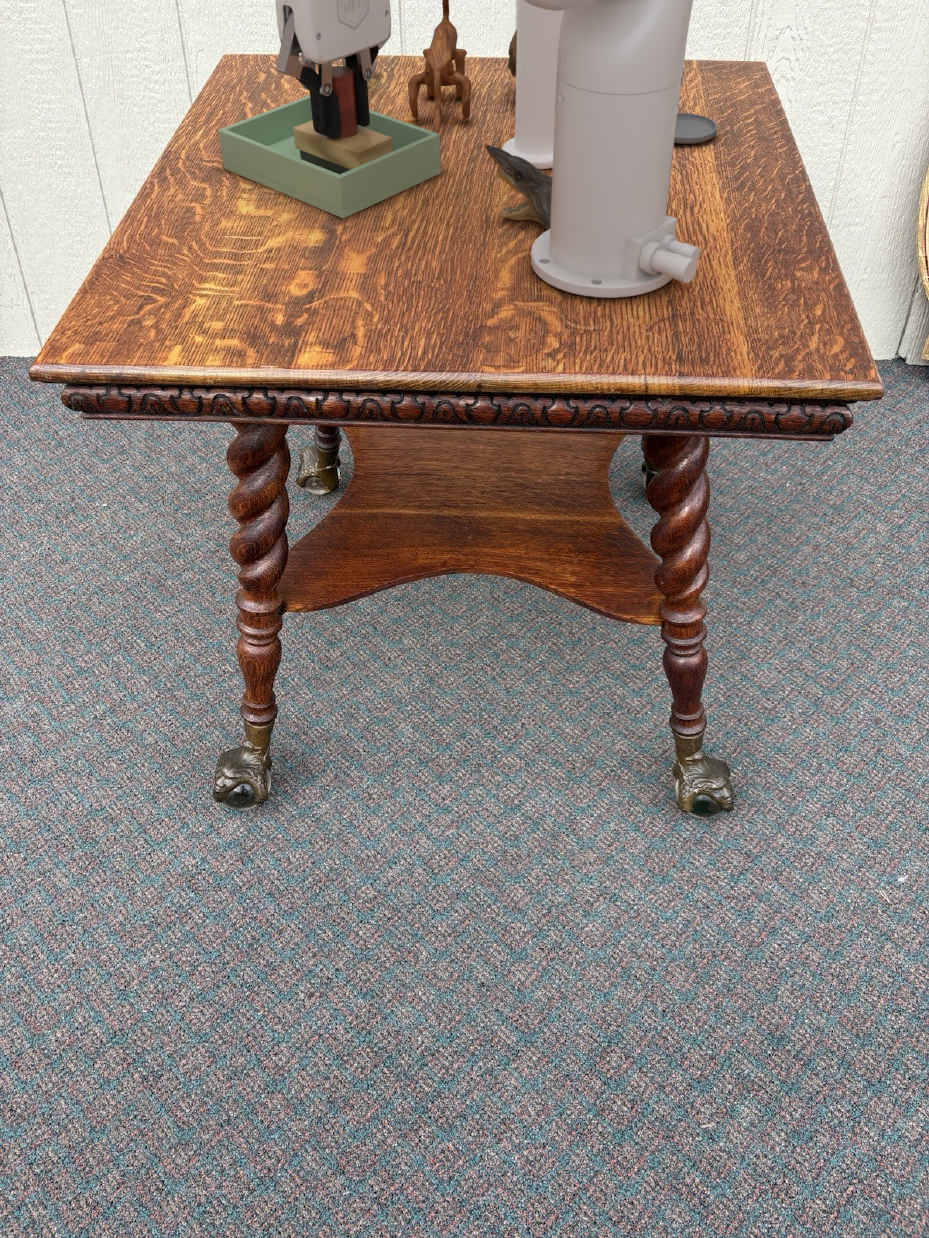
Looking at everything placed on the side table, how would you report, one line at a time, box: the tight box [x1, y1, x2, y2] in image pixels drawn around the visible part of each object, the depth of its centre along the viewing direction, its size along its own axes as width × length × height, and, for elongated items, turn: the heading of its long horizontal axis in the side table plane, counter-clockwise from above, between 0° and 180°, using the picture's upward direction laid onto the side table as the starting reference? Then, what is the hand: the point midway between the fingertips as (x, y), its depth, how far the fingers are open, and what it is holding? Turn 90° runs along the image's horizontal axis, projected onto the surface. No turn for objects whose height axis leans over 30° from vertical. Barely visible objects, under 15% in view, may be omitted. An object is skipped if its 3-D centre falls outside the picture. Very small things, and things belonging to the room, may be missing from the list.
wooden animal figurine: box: [407, 0, 472, 134], centre depth 117 cm, size 18×7×14 cm, turn 176°
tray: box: [217, 94, 442, 219], centre depth 111 cm, size 17×13×4 cm
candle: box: [501, 0, 564, 170], centre depth 106 cm, size 7×7×25 cm
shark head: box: [484, 144, 552, 232], centre depth 101 cm, size 8×6×7 cm
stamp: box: [293, 65, 393, 175], centre depth 107 cm, size 9×4×9 cm, turn 48°
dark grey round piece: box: [674, 74, 718, 145], centre depth 115 cm, size 8×8×10 cm
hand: (342, 127), depth 108 cm, fingers closed on stamp, 3 cm apart
